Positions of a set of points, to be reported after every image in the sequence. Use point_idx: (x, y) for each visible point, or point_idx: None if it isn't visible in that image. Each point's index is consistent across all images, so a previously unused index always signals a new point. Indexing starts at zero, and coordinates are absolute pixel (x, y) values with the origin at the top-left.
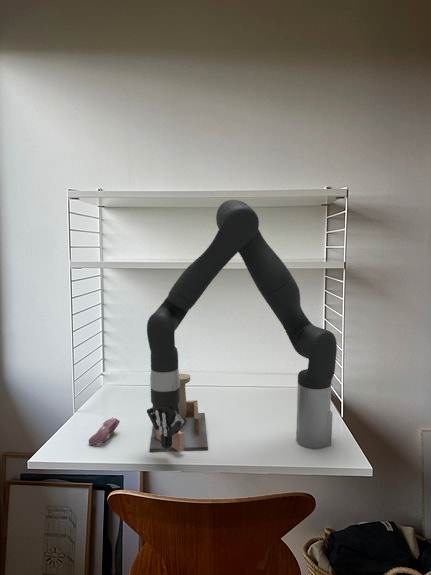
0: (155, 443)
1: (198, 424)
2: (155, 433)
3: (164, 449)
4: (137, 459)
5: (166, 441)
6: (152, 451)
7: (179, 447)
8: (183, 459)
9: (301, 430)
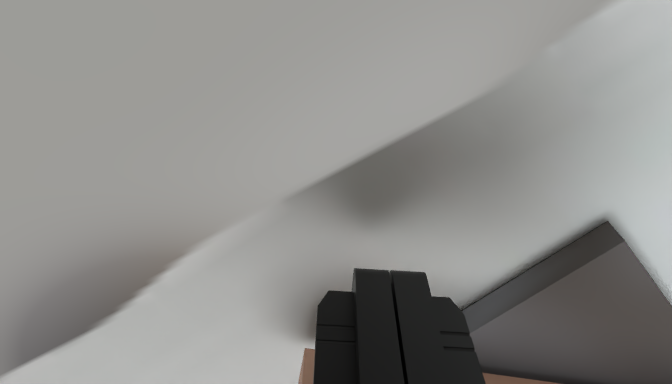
0: (624, 337)
1: None
2: None
3: (484, 313)
4: (648, 45)
5: (356, 345)
6: (583, 240)
7: (307, 379)
8: (243, 296)
9: None
